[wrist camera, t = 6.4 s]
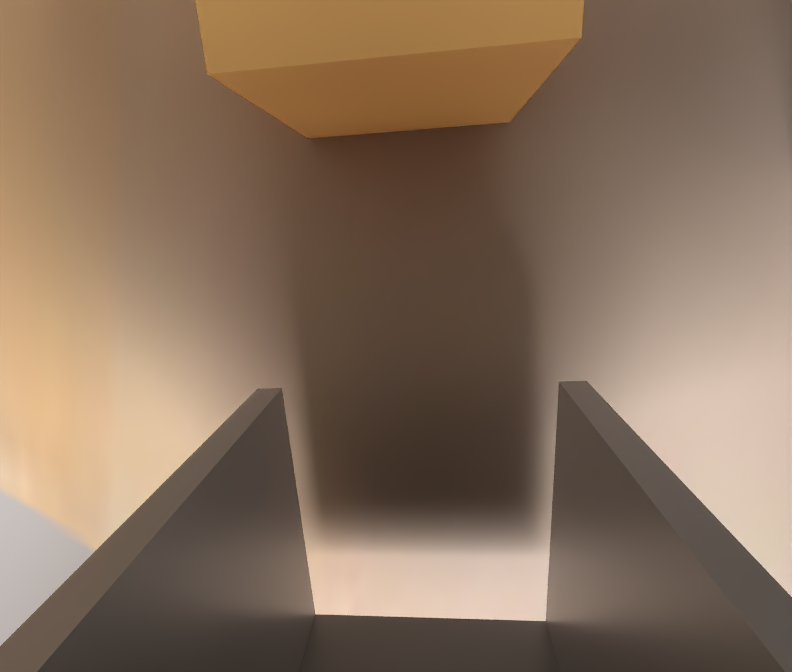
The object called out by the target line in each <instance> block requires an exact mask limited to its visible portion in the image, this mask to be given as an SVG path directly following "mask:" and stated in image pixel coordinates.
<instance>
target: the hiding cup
mask: <svg viewBox="0 0 792 672" xmlns="http://www.w3.org/2000/svg"><path fill="white" fill-rule="evenodd" d="M0 672H792V597H791V596H790V595H789V594H788V593H787V592H786V591H785V590H784V589H783V588H782V587H781V586H780V584H779V583H778V582H777V581H776V580H775V579H774V578H773V577H772V576H771V575H770V574H769V573H768V572H767V571H766V570H765V569H764V568H763V567H762V565H761V564H760V563H759V562H758V561H757V560H756V559H755V558H754V557H753V556H752V555H751V554H750V553H749V552H748V551H747V550H746V549H745V548H744V547H743V545H742V544H741V543H740V542H739V541H738V540H737V539H736V538H735V537H734V536H733V535H732V534H731V533H730V532H729V531H728V530H727V529H726V528H725V527H724V525H723V524H722V523H721V522H720V521H719V520H718V519H717V518H716V517H715V516H714V515H713V514H712V513H711V512H710V511H709V510H708V509H707V508H706V506H705V505H704V504H703V503H702V502H701V501H700V500H699V499H698V498H697V497H696V496H695V495H694V494H693V493H692V492H691V491H690V490H689V489H688V488H687V486H686V485H685V484H684V483H683V482H682V481H681V480H680V479H679V478H678V477H677V476H676V475H675V474H674V473H673V472H672V471H671V470H670V469H669V467H668V466H667V465H666V464H665V463H664V462H663V461H662V460H661V459H660V458H659V457H658V456H657V455H656V454H655V453H654V452H653V451H652V450H651V449H650V447H649V446H648V445H647V444H646V443H645V442H644V441H643V440H642V439H641V438H640V437H639V436H638V435H637V434H636V433H635V432H634V431H633V430H632V428H631V427H630V426H629V425H628V424H627V423H626V422H625V421H624V420H623V419H622V418H621V417H620V416H619V415H618V414H617V413H616V412H615V411H614V410H613V408H612V407H611V406H610V405H609V404H608V403H607V402H606V401H605V400H604V399H603V398H602V397H601V396H600V395H599V394H598V393H597V392H596V391H595V390H594V388H593V387H592V386H591V385H590V384H589V383H588V382H587V381H573V382H559V392H558V410H557V429H556V447H555V465H554V483H553V501H552V520H551V538H550V556H549V574H548V593H547V611H546V621H516V620H483V619H450V618H416V617H383V616H350V615H316V614H315V609H314V603H313V596H312V589H311V582H310V576H309V569H308V562H307V555H306V549H305V542H304V535H303V529H302V522H301V515H300V508H299V502H298V495H297V488H296V481H295V475H294V468H293V461H292V454H291V448H290V441H289V434H288V427H287V421H286V414H285V407H284V400H283V394H282V388H275V389H257V390H256V391H255V392H254V393H253V394H252V395H251V396H250V397H249V398H248V399H247V400H246V401H245V402H244V403H243V404H242V405H241V406H240V407H239V408H238V409H237V410H236V411H235V412H234V413H233V414H232V415H231V416H230V417H229V418H228V419H227V420H226V421H225V422H224V423H223V424H222V425H221V426H220V427H219V428H218V429H217V430H216V431H215V432H214V433H213V434H212V435H211V436H210V437H209V438H208V439H207V440H206V441H205V442H204V443H203V444H202V445H201V446H200V447H199V448H198V449H197V450H196V451H195V452H194V453H193V454H192V455H191V456H190V457H189V458H188V459H187V460H186V461H185V462H184V463H183V464H182V465H181V466H180V467H179V468H178V469H177V470H176V471H175V472H174V473H173V474H172V475H171V476H170V477H169V478H168V479H167V480H166V481H165V482H164V483H163V484H162V485H161V486H160V487H159V488H158V489H157V490H156V491H155V492H154V493H153V494H152V495H151V496H150V497H149V498H148V499H147V500H146V501H145V502H144V503H143V504H142V505H141V506H140V507H139V508H138V509H137V510H136V511H135V512H134V513H133V514H132V515H131V516H130V517H129V518H128V519H127V520H126V521H125V522H124V523H123V524H122V525H121V526H120V527H119V528H118V529H117V530H116V531H115V532H114V533H113V534H112V535H111V536H110V537H109V538H108V539H107V540H106V541H105V542H104V543H103V544H102V545H101V546H100V547H99V548H98V549H97V550H96V551H95V552H94V553H93V554H92V555H91V556H90V557H89V558H88V559H87V560H86V561H85V562H84V563H83V564H82V565H81V566H80V567H79V568H78V569H77V570H76V571H75V572H74V573H73V574H72V575H71V576H70V577H69V578H68V579H67V580H66V581H65V582H64V583H63V584H62V585H61V586H60V587H59V588H58V589H57V590H56V591H55V592H54V593H53V594H52V595H51V596H50V597H49V598H48V599H47V600H46V601H45V602H44V603H43V604H42V605H41V606H40V607H39V608H38V609H37V610H36V611H35V612H34V613H33V614H32V615H31V616H30V617H29V618H28V619H27V620H26V621H25V622H24V623H23V624H22V625H21V626H20V627H19V628H18V629H17V630H16V631H15V632H14V633H13V634H12V635H11V636H10V637H9V638H8V639H7V640H6V641H5V642H4V643H3V644H2V645H1V646H0Z"/></svg>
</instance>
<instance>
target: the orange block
mask: <svg viewBox="0 0 792 672" xmlns="http://www.w3.org/2000/svg"><path fill="white" fill-rule="evenodd" d="M195 4H196V10H197V16H198V22H199V28H200V34H201V40H202V46H203V52H204V58H205V64H206V70H207V74H208V75H209V76H211V77H212V78H214V79H216V80H217V81H219V82H220V83H222V84H223V85H225V86H227V87H228V88H230V89H231V90H233V91H234V92H236V93H238V94H239V95H241V96H242V97H244V98H245V99H247V100H249V101H250V102H252V103H253V104H255V105H256V106H258V107H260V108H261V109H263V110H264V111H266V112H267V113H269V114H271V115H272V116H274V117H275V118H277V119H278V120H280V121H282V122H283V123H285V124H286V125H288V126H289V127H291V128H293V129H294V130H296V131H297V132H299V133H300V134H302V135H304V136H305V137H307V138H320V137H332V136H345V135H357V134H369V133H382V132H394V131H407V130H419V129H431V128H444V127H456V126H469V125H481V124H493V123H506V122H510V121H511V120H512V119H513V118H514V117H515V115H516V114H517V113H518V112H519V111H520V110H521V108H522V107H523V106H524V105H525V104H526V102H527V101H528V100H529V99H530V98H531V97H532V95H533V94H534V93H535V92H536V91H537V90H538V88H539V87H540V86H541V85H542V84H543V82H544V81H545V80H546V79H547V78H548V77H549V75H550V74H551V73H552V72H553V71H554V70H555V68H556V67H557V66H558V65H559V64H560V62H561V61H562V60H563V59H564V58H565V57H566V55H567V54H568V53H569V52H570V51H571V50H572V48H573V47H574V46H575V45H576V44H577V42H578V41H579V40H580V39H581V38H582V26H583V9H584V0H195Z"/></svg>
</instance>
